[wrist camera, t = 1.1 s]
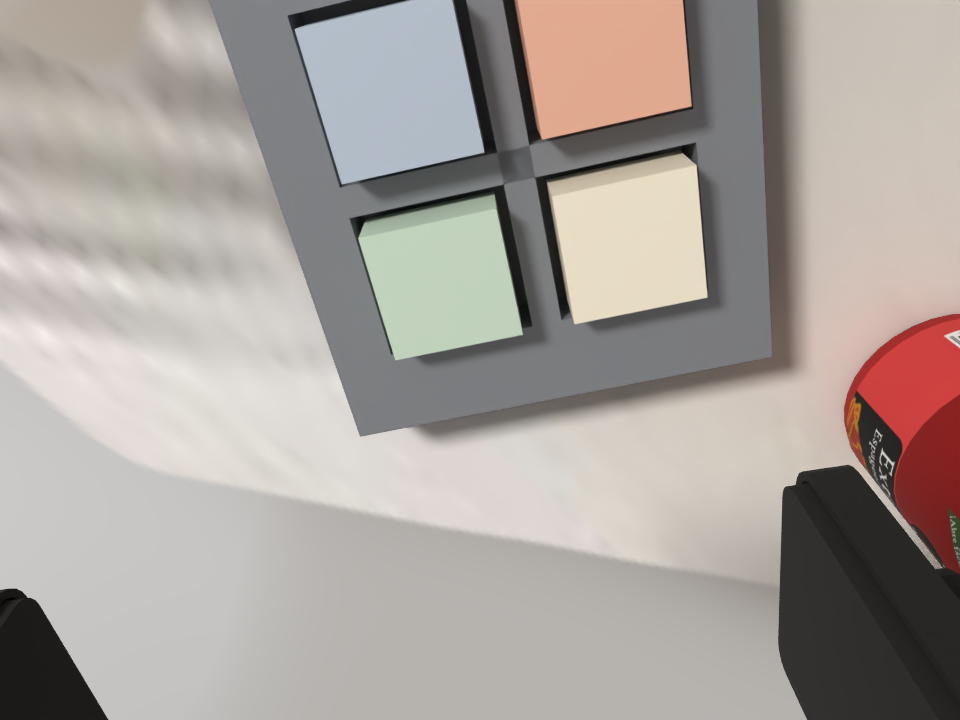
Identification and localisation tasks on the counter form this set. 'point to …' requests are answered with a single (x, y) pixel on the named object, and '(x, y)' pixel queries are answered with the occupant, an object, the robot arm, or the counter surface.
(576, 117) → the terracotta key
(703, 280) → the sand key
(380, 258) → the sage key
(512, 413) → the counter surface
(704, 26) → the keypad
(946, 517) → the canned food
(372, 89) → the slate key
